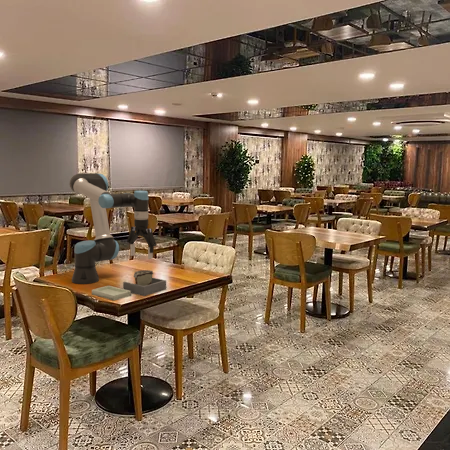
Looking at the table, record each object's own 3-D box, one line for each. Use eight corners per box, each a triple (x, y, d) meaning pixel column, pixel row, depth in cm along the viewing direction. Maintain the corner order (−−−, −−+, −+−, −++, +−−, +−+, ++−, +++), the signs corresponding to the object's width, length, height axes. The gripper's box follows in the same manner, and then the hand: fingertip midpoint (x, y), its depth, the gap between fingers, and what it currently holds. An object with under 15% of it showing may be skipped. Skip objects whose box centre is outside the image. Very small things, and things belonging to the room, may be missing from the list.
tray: (91, 294, 232) (91, 289, 231) (108, 289, 241) (108, 285, 241) (114, 300, 222) (114, 295, 222) (130, 295, 231) (130, 291, 231)
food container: (146, 286, 251) (146, 269, 249) (153, 288, 247) (153, 270, 246) (128, 290, 241) (128, 272, 240) (136, 292, 237) (136, 274, 236)
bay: (123, 290, 240) (123, 282, 239) (145, 284, 254) (145, 276, 253) (143, 296, 231) (143, 286, 230) (166, 289, 245) (166, 280, 245)
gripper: (120, 217, 243) (120, 255, 246) (153, 221, 229) (153, 261, 232) (130, 216, 249) (130, 253, 252) (163, 220, 235) (162, 259, 238)
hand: (141, 257), depth 242 cm, fingers open, 13 cm apart
